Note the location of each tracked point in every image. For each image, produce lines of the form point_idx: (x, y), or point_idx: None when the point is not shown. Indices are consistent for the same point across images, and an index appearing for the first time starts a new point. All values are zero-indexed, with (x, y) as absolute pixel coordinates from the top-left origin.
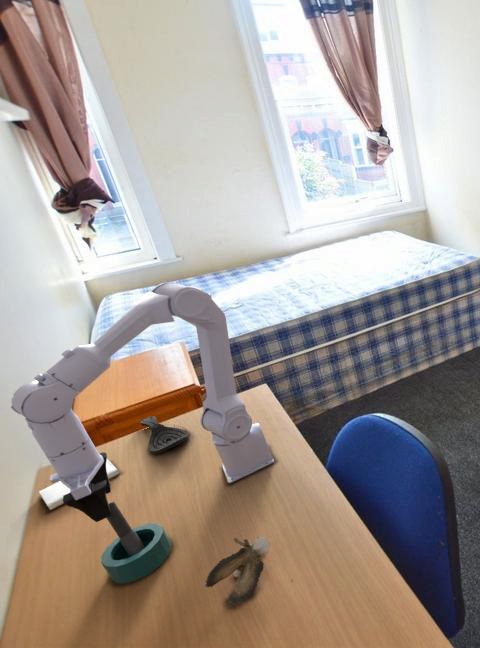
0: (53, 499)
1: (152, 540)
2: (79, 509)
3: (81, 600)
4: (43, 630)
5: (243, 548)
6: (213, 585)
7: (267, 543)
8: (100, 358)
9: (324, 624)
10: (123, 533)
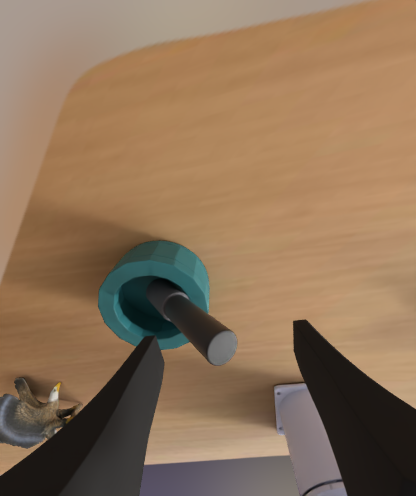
0: None
1: (141, 338)
2: (76, 415)
3: (115, 199)
4: (68, 145)
5: (33, 445)
6: (8, 395)
7: None
8: None
9: None
10: (167, 314)
